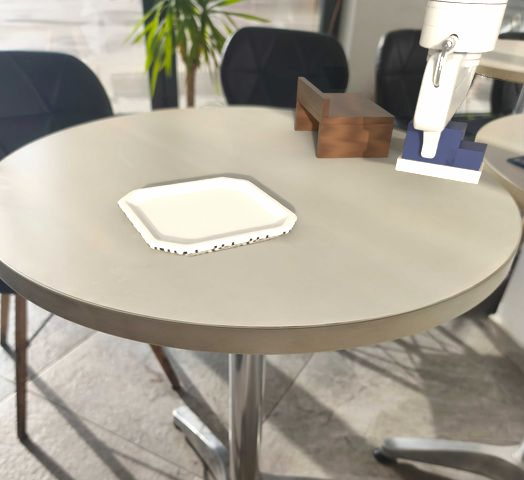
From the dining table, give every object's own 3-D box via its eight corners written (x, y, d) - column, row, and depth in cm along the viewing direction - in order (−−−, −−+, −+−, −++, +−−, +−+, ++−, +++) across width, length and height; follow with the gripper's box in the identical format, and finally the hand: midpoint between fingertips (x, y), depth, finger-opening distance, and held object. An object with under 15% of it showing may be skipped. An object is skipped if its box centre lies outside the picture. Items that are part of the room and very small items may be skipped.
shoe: (481, 173, 69) (495, 126, 65) (477, 184, 65) (492, 134, 61) (402, 160, 72) (411, 115, 68) (395, 170, 69) (404, 122, 65)
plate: (309, 239, 66) (310, 224, 64) (160, 272, 58) (158, 255, 56) (240, 187, 80) (240, 173, 78) (112, 207, 72) (110, 192, 70)
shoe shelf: (355, 128, 110) (362, 77, 104) (387, 157, 95) (398, 98, 89) (294, 129, 108) (298, 76, 102) (317, 158, 93) (323, 98, 87)
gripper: (477, 43, 50) (442, 178, 59) (495, 25, 65) (465, 135, 74) (415, 38, 52) (390, 169, 61) (446, 21, 67) (423, 129, 76)
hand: (432, 150), depth 68 cm, fingers closed on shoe, 4 cm apart
